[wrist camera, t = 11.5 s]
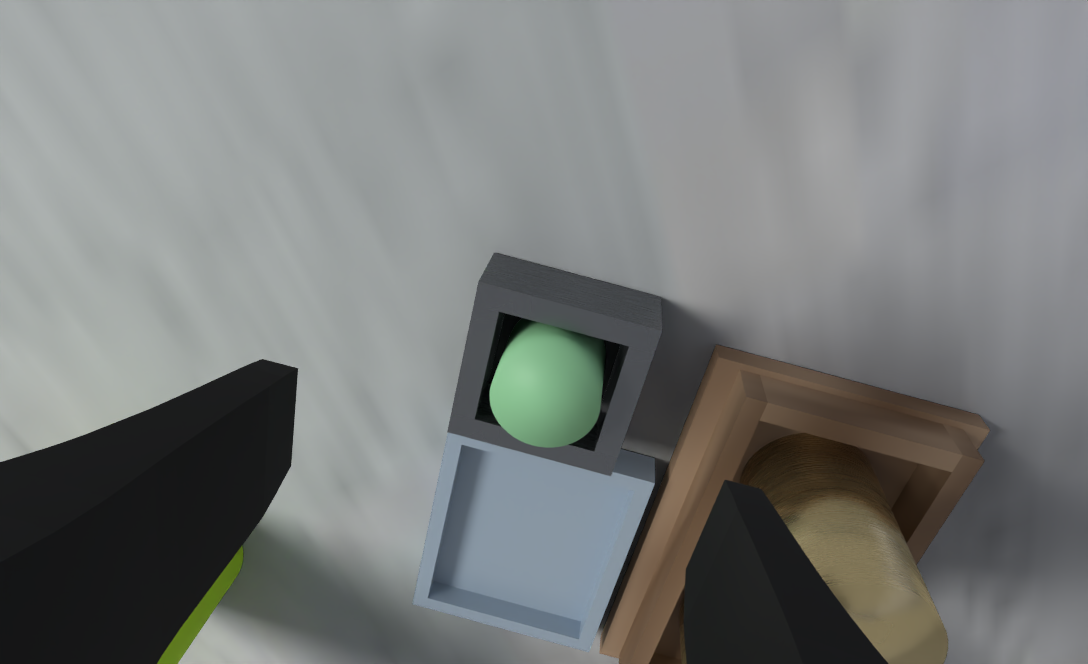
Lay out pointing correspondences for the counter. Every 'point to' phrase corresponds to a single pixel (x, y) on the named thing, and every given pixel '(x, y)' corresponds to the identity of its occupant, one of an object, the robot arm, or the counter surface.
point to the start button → (548, 384)
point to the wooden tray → (745, 427)
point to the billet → (851, 541)
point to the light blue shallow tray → (529, 539)
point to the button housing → (566, 307)
